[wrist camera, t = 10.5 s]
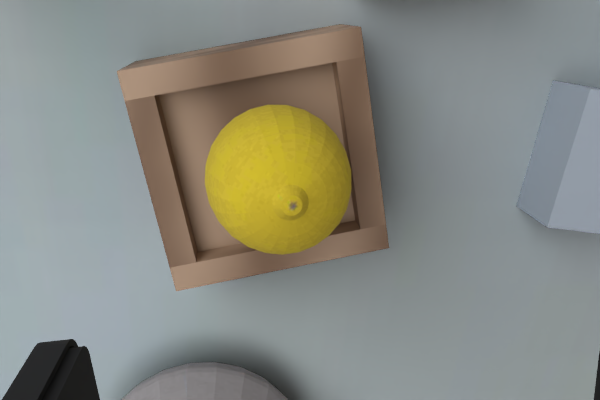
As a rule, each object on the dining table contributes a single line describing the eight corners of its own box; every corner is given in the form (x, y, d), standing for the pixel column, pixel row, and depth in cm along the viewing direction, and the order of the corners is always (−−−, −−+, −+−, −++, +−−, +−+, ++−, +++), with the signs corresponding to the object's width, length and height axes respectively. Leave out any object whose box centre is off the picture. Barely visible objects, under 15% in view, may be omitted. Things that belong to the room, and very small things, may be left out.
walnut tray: (338, 23, 28) (361, 26, 23) (364, 210, 31) (388, 247, 27) (137, 60, 28) (116, 71, 23) (185, 246, 31) (176, 291, 26)
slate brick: (551, 79, 30) (590, 88, 27) (610, 89, 30) (656, 99, 27) (514, 204, 32) (547, 227, 29) (571, 212, 33) (609, 235, 29)
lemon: (279, 238, 27) (308, 316, 19) (180, 171, 25) (168, 227, 18) (351, 144, 26) (410, 185, 18) (254, 69, 25) (274, 81, 17)
